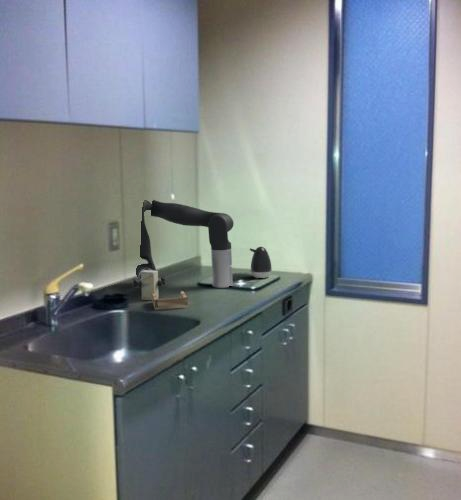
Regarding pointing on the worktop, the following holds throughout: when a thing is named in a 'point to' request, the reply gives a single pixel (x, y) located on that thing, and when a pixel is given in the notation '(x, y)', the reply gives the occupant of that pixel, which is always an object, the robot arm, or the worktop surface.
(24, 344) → the worktop surface
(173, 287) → the worktop surface
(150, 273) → the skincare box
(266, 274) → the pump dispenser
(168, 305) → the brown wooden tray
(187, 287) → the worktop surface
